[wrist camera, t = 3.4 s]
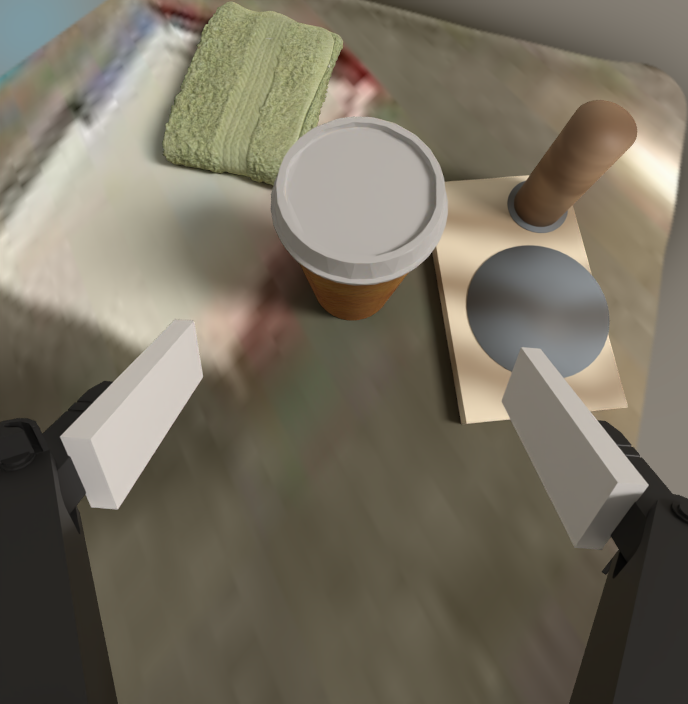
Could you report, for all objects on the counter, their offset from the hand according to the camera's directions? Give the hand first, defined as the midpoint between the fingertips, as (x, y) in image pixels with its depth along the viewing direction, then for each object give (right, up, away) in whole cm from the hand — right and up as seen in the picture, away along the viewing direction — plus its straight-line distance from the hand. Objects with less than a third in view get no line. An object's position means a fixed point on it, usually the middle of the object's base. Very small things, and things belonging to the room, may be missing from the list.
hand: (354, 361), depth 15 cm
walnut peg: (+16, +13, +16) cm, 25 cm away
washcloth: (-8, +23, +20) cm, 32 cm away
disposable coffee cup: (0, +6, +15) cm, 16 cm away
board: (+13, +5, +15) cm, 21 cm away
